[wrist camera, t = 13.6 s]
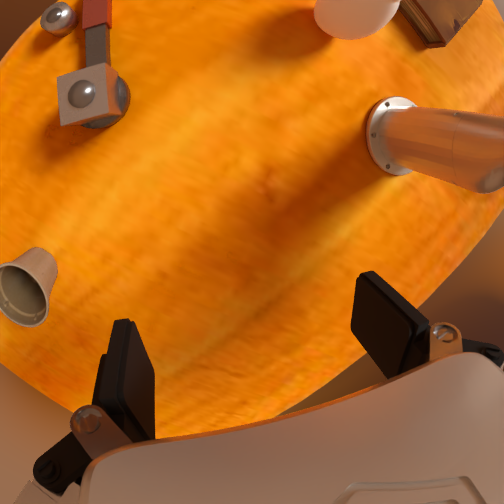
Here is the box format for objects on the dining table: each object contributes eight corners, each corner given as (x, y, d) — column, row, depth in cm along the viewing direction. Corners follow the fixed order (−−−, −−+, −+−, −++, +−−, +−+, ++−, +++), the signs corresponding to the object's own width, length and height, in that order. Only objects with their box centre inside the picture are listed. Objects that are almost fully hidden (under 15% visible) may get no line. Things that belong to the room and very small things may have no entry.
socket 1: (79, 7, 22) (69, -3, 19) (78, 31, 24) (67, 22, 20) (52, 17, 22) (40, 8, 18) (51, 41, 23) (39, 34, 20)
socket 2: (117, 72, 26) (104, 61, 20) (121, 114, 28) (108, 112, 23) (76, 83, 25) (55, 77, 19) (79, 125, 27) (59, 126, 22)
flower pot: (79, 272, 37) (61, 306, 30) (45, 303, 38) (26, 337, 30) (39, 223, 33) (11, 248, 25) (7, 260, 33) (-19, 288, 26)
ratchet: (126, -17, 23) (118, -38, 17) (133, 121, 31) (123, 120, 26) (76, -3, 21) (61, -20, 16) (81, 134, 30) (63, 136, 25)
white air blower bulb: (291, 23, 30) (365, -27, 14) (317, -10, 28) (393, -60, 12) (337, 56, 33) (428, 33, 17) (359, 22, 31) (447, -6, 15)
